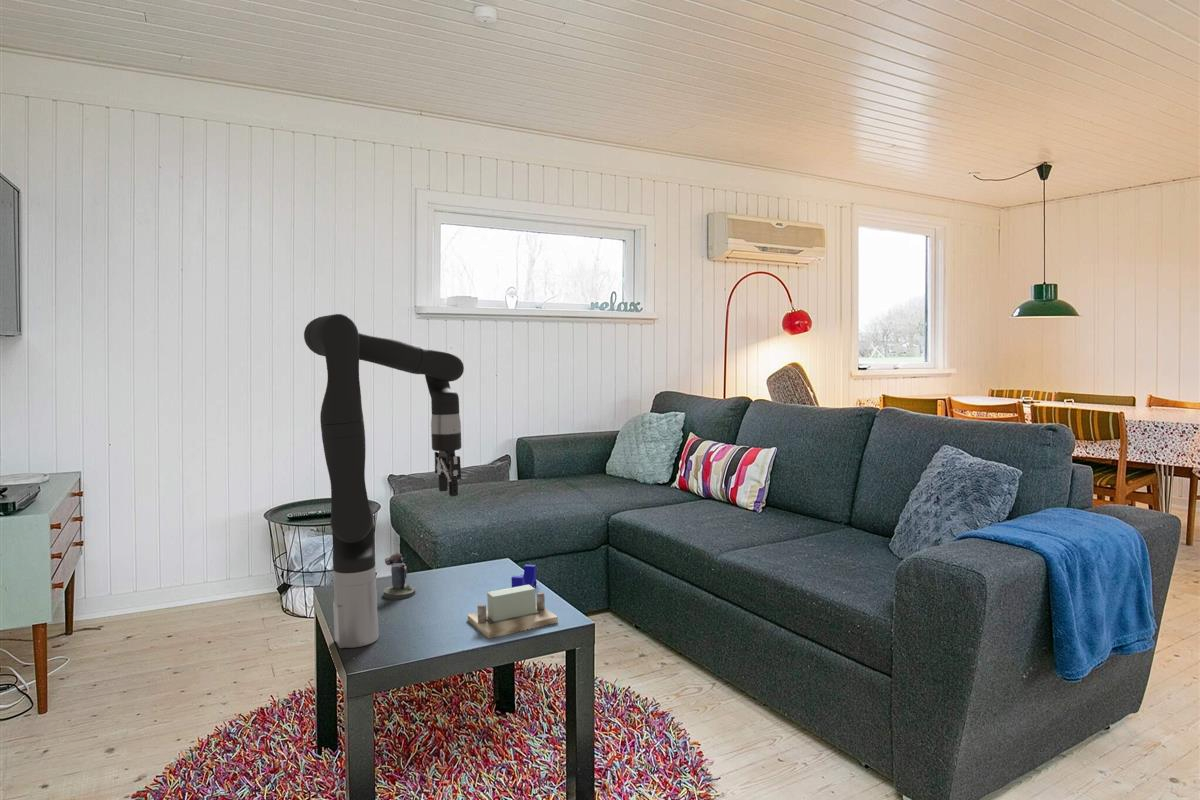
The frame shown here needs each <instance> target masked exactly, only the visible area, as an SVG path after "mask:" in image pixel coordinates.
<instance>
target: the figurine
mask: <svg viewBox="0 0 1200 800" xmlns="http://www.w3.org/2000/svg"><path fill="white" fill-rule="evenodd" d="M405 559H406V557H403V555H402V553H399V552H395V553H393V554H391V556H390V557H386V558H385V559H384V563H385V565H387V566H390V565H391V570H390V572H391V586H388V587H386V588H383V598H384V599H387V598H388V599H387V600H402V598H404V599H408V598H411V597H412V595H413V596H414V595H416V587H415V586H413V585H411V584H406V579H407V577H408V574H407V569H408V567H407V566H406V563H404V562H406V561H405ZM410 596H411V597H410ZM407 597H408V598H407Z"/></svg>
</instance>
